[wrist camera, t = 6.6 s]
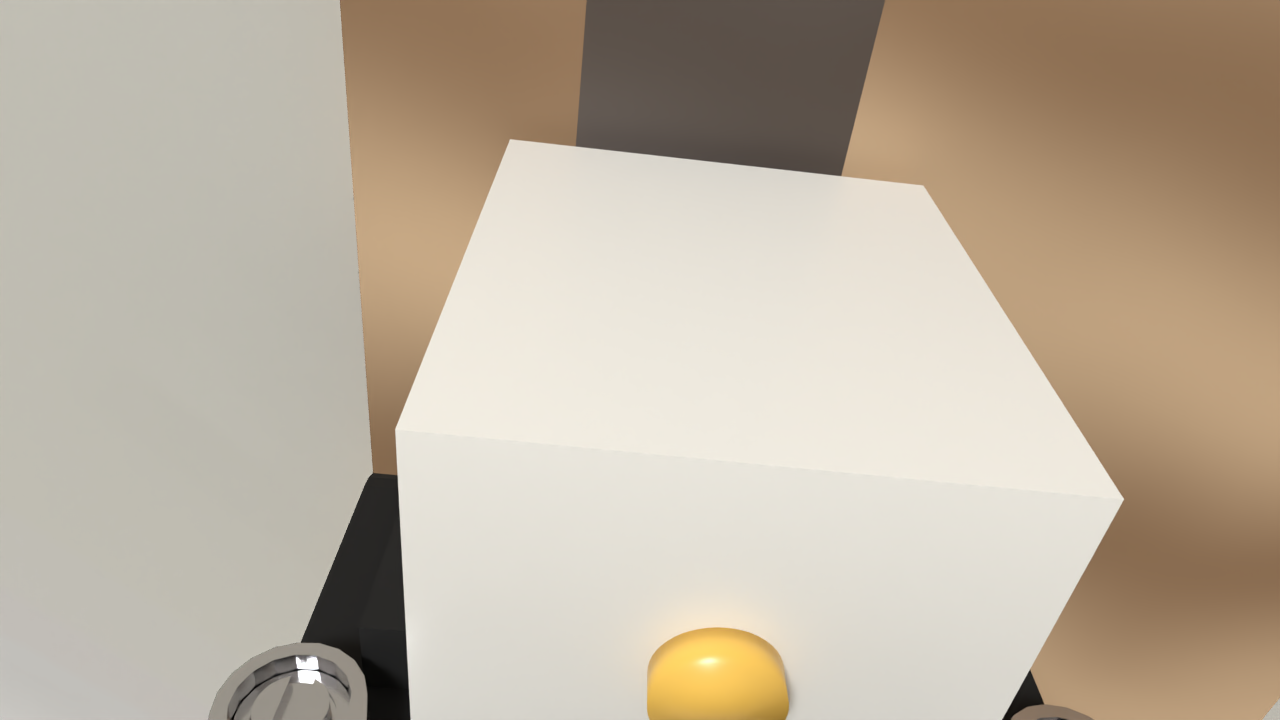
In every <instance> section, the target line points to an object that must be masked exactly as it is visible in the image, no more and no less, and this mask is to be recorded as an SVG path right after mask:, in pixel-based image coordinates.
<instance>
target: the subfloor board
mask: <svg viewBox="0 0 1280 720" xmlns="http://www.w3.org/2000/svg"><path fill="white" fill-rule="evenodd" d="M340 9H341V23H342V37H343V51H344V65H345V80H346V94H347V108H348V122H349V136H350V151H351V165H352V179H353V193H354V207H355V222H356V236H357V250H358V264H359V278H360V293H361V307H362V321H363V335H364V349H365V364H366V378H367V392H368V406H369V420H370V435H371V449H372V463H373V473H380V474H391V475H398V473H397V454H396V436H395V429H396V426H397V424H398V421H399V419H400V416H401V413H402V411H403V408H404V406H405V403H406V401H407V398H408V396H409V393H410V391H411V388H412V386H413V383H414V381H415V378H416V376H417V373H418V371H419V368H420V365H421V363H422V360H423V358H424V355H425V353H426V350H427V348H428V345H429V343H430V340H431V338H432V335H433V333H434V330H435V328H436V325H437V323H438V320H439V317H440V315H441V312H442V310H443V307H444V305H445V302H446V300H447V297H448V295H449V292H450V290H451V287H452V285H453V282H454V280H455V277H456V275H457V272H458V269H459V267H460V264H461V262H462V259H463V257H464V254H465V252H466V249H467V247H468V244H469V242H470V239H471V237H472V234H473V232H474V229H475V227H476V224H477V221H478V219H479V216H480V214H481V211H482V209H483V206H484V204H485V201H486V199H487V196H488V194H489V191H490V189H491V186H492V184H493V181H494V179H495V176H496V173H497V171H498V168H499V166H500V163H501V161H502V158H503V156H504V153H505V151H506V148H507V146H508V143H509V141H510V139H513V140H522V141H531V142H539V143H548V144H557V145H566V146H575V147H584V148H593V149H602V150H611V151H620V152H629V153H638V154H647V155H656V156H664V157H673V158H682V159H691V160H700V161H709V162H718V163H727V164H736V165H745V166H754V167H763V168H772V169H781V170H790V171H798V172H807V173H816V174H825V175H834V176H843V177H852V178H861V179H870V180H879V181H888V182H897V183H906V184H915V185H923V186H924V187H925V189H926V190H927V192H928V193H929V195H930V197H931V198H932V200H933V201H934V203H935V204H936V206H937V207H938V209H939V211H940V212H941V214H942V215H943V217H944V218H945V220H946V222H947V223H948V225H949V226H950V228H951V229H952V231H953V233H954V234H955V236H956V237H957V239H958V240H959V242H960V243H961V245H962V247H963V248H964V250H965V251H966V253H967V254H968V256H969V258H970V259H971V261H972V262H973V264H974V265H975V267H976V268H977V270H978V272H979V273H980V275H981V276H982V278H983V279H984V281H985V283H986V284H987V286H988V287H989V289H990V290H991V292H992V294H993V295H994V297H995V298H996V300H997V301H998V303H999V304H1000V306H1001V308H1002V309H1003V311H1004V312H1005V314H1006V315H1007V317H1008V319H1009V320H1010V322H1011V323H1012V325H1013V326H1014V328H1015V329H1016V331H1017V333H1018V334H1019V336H1020V337H1021V339H1022V340H1023V342H1024V344H1025V345H1026V347H1027V348H1028V350H1029V351H1030V353H1031V355H1032V356H1033V358H1034V359H1035V361H1036V362H1037V364H1038V365H1039V367H1040V369H1041V370H1042V372H1043V373H1044V375H1045V376H1046V378H1047V380H1048V381H1049V383H1050V384H1051V386H1052V387H1053V389H1054V390H1055V392H1056V394H1057V395H1058V397H1059V398H1060V400H1061V401H1062V403H1063V405H1064V406H1065V408H1066V409H1067V411H1068V412H1069V414H1070V416H1071V417H1072V419H1073V420H1074V422H1075V423H1076V425H1077V426H1078V428H1079V430H1080V431H1081V433H1082V434H1083V436H1084V437H1085V439H1086V441H1087V442H1088V444H1089V445H1090V447H1091V448H1092V450H1093V451H1094V453H1095V455H1096V456H1097V458H1098V459H1099V461H1100V462H1101V464H1102V466H1103V467H1104V469H1105V470H1106V472H1107V473H1108V475H1109V477H1110V478H1111V480H1112V481H1113V483H1114V484H1115V486H1116V487H1117V489H1118V491H1119V492H1120V494H1121V495H1122V497H1123V498H1124V500H1123V502H1122V504H1121V506H1120V508H1119V509H1118V511H1117V513H1116V515H1115V517H1114V518H1113V520H1112V522H1111V524H1110V526H1109V527H1108V529H1107V531H1106V533H1105V535H1104V536H1103V538H1102V540H1101V542H1100V544H1099V545H1098V547H1097V549H1096V551H1095V553H1094V555H1093V556H1092V558H1091V560H1090V562H1089V564H1088V565H1087V567H1086V569H1085V571H1084V573H1083V574H1082V576H1081V578H1080V580H1079V582H1078V583H1077V585H1076V587H1075V589H1074V591H1073V592H1072V594H1071V596H1070V598H1069V600H1068V602H1067V603H1066V605H1065V607H1064V609H1063V611H1062V612H1061V614H1060V616H1059V618H1058V620H1057V621H1056V623H1055V625H1054V627H1053V629H1052V630H1051V632H1050V634H1049V636H1048V638H1047V639H1046V641H1045V643H1044V645H1043V647H1042V648H1041V650H1040V652H1039V654H1038V656H1037V658H1036V659H1035V661H1034V663H1033V665H1032V667H1031V668H1030V670H1031V673H1032V675H1033V678H1034V680H1035V682H1036V685H1037V687H1038V690H1039V692H1040V694H1041V697H1042V699H1043V702H1044V704H1048V705H1054V706H1061V707H1067V708H1069V709H1072V710H1074V711H1077V712H1080V713H1082V714H1085V715H1087V716H1089V717H1091V718H1092V719H1094V720H1262V719H1263V718H1264V716H1265V715H1266V714H1267V713H1268V712H1269V710H1270V709H1271V708H1272V707H1273V705H1274V704H1275V703H1276V702H1277V701H1278V699H1279V698H1280V0H340Z"/></svg>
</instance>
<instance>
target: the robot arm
mask: <svg viewBox="0 0 1280 720" xmlns="http://www.w3.org/2000/svg"><path fill="white" fill-rule="evenodd" d="M208 720H411V717H410V698H409V679H408V661H407V642H406V623H405V604H404V586H403V567H402V548H401V529H400V511H399V492H398V475H391V474H380V473H373V474H372V475H371V476H370V477H369V478H368V480H367V482H366V484H365V486H364V489H363V491H362V494H361V496H360V498H359V501H358V503H357V506H356V508H355V511H354V513H353V516H352V518H351V521H350V523H349V525H348V528H347V530H346V533H345V535H344V538H343V540H342V543H341V545H340V548H339V550H338V552H337V555H336V557H335V560H334V562H333V565H332V567H331V570H330V572H329V575H328V577H327V579H326V582H325V584H324V587H323V589H322V592H321V594H320V597H319V599H318V602H317V604H316V606H315V609H314V611H313V614H312V616H311V619H310V621H309V624H308V626H307V629H306V631H305V633H304V636H303V638H302V641H301V643H293V644H289V645H284V646H280V647H275V648H272V649H270V650H268V651H266V652H264V653H261V654H259V655H257V656H255V657H253V658H251V659H250V660H248V661H247V662H246V663H244V664H243V665H242V666H241V667H239V668H238V669H237V670H235V671H234V672H233V673H232V674H231V675H230V676H229V678H228V679H227V680H226V682H225V683H224V684H223V685H222V687H221V688H220V689H219V691H218V692H217V694H216V697H215V700H214V702H213V705H212V707H211V710H210V713H209V718H208ZM1002 720H1094V719H1092V718H1091V717H1089V716H1087V715H1085V714H1082V713H1080V712H1077V711H1074V710H1072V709H1069V708H1067V707H1061V706H1054V705H1048V704H1044V702H1043V699H1042V697H1041V694H1040V692H1039V690H1038V687H1037V685H1036V682H1035V680H1034V678H1033V675H1032V673H1031V670H1029V672H1028V674H1027V676H1026V677H1025V679H1024V681H1023V683H1022V685H1021V686H1020V688H1019V690H1018V692H1017V694H1016V695H1015V697H1014V699H1013V701H1012V703H1011V704H1010V706H1009V708H1008V710H1007V712H1006V714H1005V715H1004V717H1003V719H1002Z"/></svg>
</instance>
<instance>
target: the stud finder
mask: <svg viewBox="0 0 1280 720" xmlns="http://www.w3.org/2000/svg"><path fill="white" fill-rule="evenodd" d="M395 436H396V454H397V473H398V492H399V511H400V529H401V548H402V567H403V586H404V604H405V623H406V642H407V661H408V679H409V698H410V717H411V720H1002V719H1003V717H1004V715H1005V714H1006V712H1007V710H1008V708H1009V706H1010V704H1011V703H1012V701H1013V699H1014V697H1015V695H1016V694H1017V692H1018V690H1019V688H1020V686H1021V685H1022V683H1023V681H1024V679H1025V677H1026V676H1027V674H1028V672H1029V670H1030V668H1031V667H1032V665H1033V663H1034V661H1035V659H1036V658H1037V656H1038V654H1039V652H1040V650H1041V648H1042V647H1043V645H1044V643H1045V641H1046V639H1047V638H1048V636H1049V634H1050V632H1051V630H1052V629H1053V627H1054V625H1055V623H1056V621H1057V620H1058V618H1059V616H1060V614H1061V612H1062V611H1063V609H1064V607H1065V605H1066V603H1067V602H1068V600H1069V598H1070V596H1071V594H1072V592H1073V591H1074V589H1075V587H1076V585H1077V583H1078V582H1079V580H1080V578H1081V576H1082V574H1083V573H1084V571H1085V569H1086V567H1087V565H1088V564H1089V562H1090V560H1091V558H1092V556H1093V555H1094V553H1095V551H1096V549H1097V547H1098V545H1099V544H1100V542H1101V540H1102V538H1103V536H1104V535H1105V533H1106V531H1107V529H1108V527H1109V526H1110V524H1111V522H1112V520H1113V518H1114V517H1115V515H1116V513H1117V511H1118V509H1119V508H1120V506H1121V504H1122V502H1123V500H1124V498H1123V497H1122V495H1121V494H1120V492H1119V491H1118V489H1117V487H1116V486H1115V484H1114V483H1113V481H1112V480H1111V478H1110V477H1109V475H1108V473H1107V472H1106V470H1105V469H1104V467H1103V466H1102V464H1101V462H1100V461H1099V459H1098V458H1097V456H1096V455H1095V453H1094V451H1093V450H1092V448H1091V447H1090V445H1089V444H1088V442H1087V441H1086V439H1085V437H1084V436H1083V434H1082V433H1081V431H1080V430H1079V428H1078V426H1077V425H1076V423H1075V422H1074V420H1073V419H1072V417H1071V416H1070V414H1069V412H1068V411H1067V409H1066V408H1065V406H1064V405H1063V403H1062V401H1061V400H1060V398H1059V397H1058V395H1057V394H1056V392H1055V390H1054V389H1053V387H1052V386H1051V384H1050V383H1049V381H1048V380H1047V378H1046V376H1045V375H1044V373H1043V372H1042V370H1041V369H1040V367H1039V365H1038V364H1037V362H1036V361H1035V359H1034V358H1033V356H1032V355H1031V353H1030V351H1029V350H1028V348H1027V347H1026V345H1025V344H1024V342H1023V340H1022V339H1021V337H1020V336H1019V334H1018V333H1017V331H1016V329H1015V328H1014V326H1013V325H1012V323H1011V322H1010V320H1009V319H1008V317H1007V315H1006V314H1005V312H1004V311H1003V309H1002V308H1001V306H1000V304H999V303H998V301H997V300H996V298H995V297H994V295H993V294H992V292H991V290H990V289H989V287H988V286H987V284H986V283H985V281H984V279H983V278H982V276H981V275H980V273H979V272H978V270H977V268H976V267H975V265H974V264H973V262H972V261H971V259H970V258H969V256H968V254H967V253H966V251H965V250H964V248H963V247H962V245H961V243H960V242H959V240H958V239H957V237H956V236H955V234H954V233H953V231H952V229H951V228H950V226H949V225H948V223H947V222H946V220H945V218H944V217H943V215H942V214H941V212H940V211H939V209H938V207H937V206H936V204H935V203H934V201H933V200H932V198H931V197H930V195H929V193H928V192H927V190H926V189H925V187H924V186H923V185H915V184H906V183H897V182H888V181H879V180H870V179H861V178H852V177H843V176H834V175H825V174H816V173H807V172H798V171H790V170H781V169H772V168H763V167H754V166H745V165H736V164H727V163H718V162H709V161H700V160H691V159H682V158H673V157H664V156H656V155H647V154H638V153H629V152H620V151H611V150H602V149H593V148H584V147H575V146H566V145H557V144H548V143H539V142H531V141H522V140H513V139H510V141H509V143H508V146H507V148H506V151H505V153H504V156H503V158H502V161H501V163H500V166H499V168H498V171H497V173H496V176H495V179H494V181H493V184H492V186H491V189H490V191H489V194H488V196H487V199H486V201H485V204H484V206H483V209H482V211H481V214H480V216H479V219H478V221H477V224H476V227H475V229H474V232H473V234H472V237H471V239H470V242H469V244H468V247H467V249H466V252H465V254H464V257H463V259H462V262H461V264H460V267H459V269H458V272H457V275H456V277H455V280H454V282H453V285H452V287H451V290H450V292H449V295H448V297H447V300H446V302H445V305H444V307H443V310H442V312H441V315H440V317H439V320H438V323H437V325H436V328H435V330H434V333H433V335H432V338H431V340H430V343H429V345H428V348H427V350H426V353H425V355H424V358H423V360H422V363H421V365H420V368H419V371H418V373H417V376H416V378H415V381H414V383H413V386H412V388H411V391H410V393H409V396H408V398H407V401H406V403H405V406H404V408H403V411H402V413H401V416H400V419H399V421H398V424H397V426H396V429H395Z"/></svg>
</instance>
